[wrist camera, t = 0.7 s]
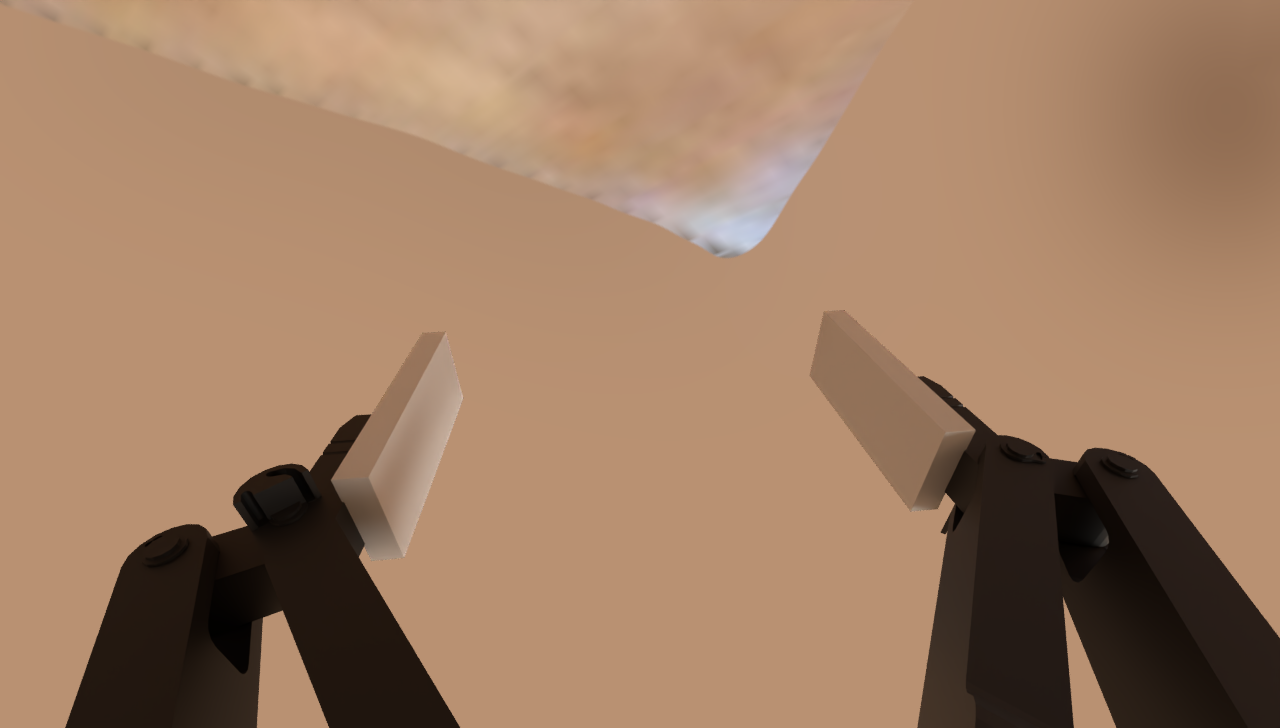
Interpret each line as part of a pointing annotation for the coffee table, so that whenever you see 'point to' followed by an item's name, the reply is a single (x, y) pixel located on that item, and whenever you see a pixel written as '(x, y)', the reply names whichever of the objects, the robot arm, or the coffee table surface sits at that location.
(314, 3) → the coffee table surface
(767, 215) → the coffee table surface
